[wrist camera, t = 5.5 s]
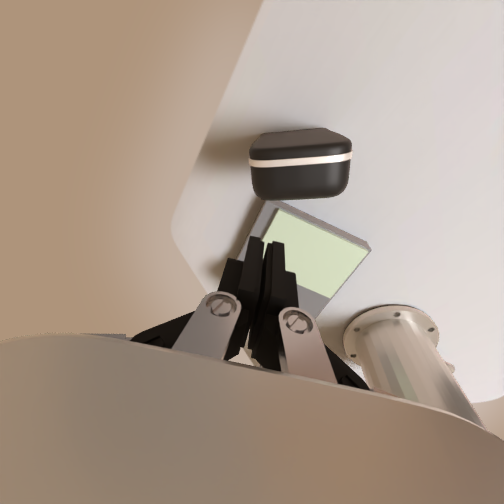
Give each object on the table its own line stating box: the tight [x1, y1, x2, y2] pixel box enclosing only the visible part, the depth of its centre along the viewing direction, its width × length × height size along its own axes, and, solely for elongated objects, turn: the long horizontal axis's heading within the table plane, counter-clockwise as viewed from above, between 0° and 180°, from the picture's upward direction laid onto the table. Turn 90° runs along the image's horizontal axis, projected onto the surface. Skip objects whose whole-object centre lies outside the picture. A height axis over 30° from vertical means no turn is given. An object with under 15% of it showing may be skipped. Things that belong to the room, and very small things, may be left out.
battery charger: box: [249, 128, 353, 201], centre depth 21 cm, size 7×4×11 cm, turn 95°
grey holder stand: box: [236, 200, 371, 320], centre depth 30 cm, size 13×12×6 cm
